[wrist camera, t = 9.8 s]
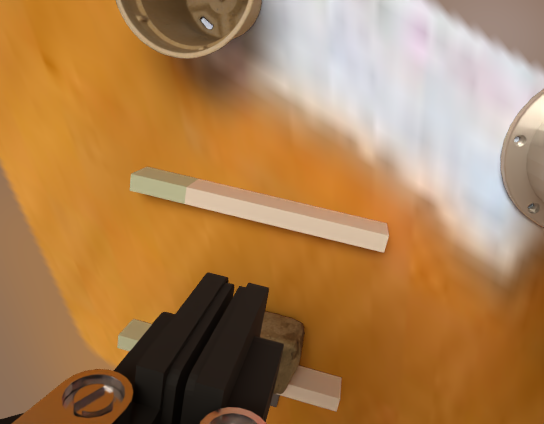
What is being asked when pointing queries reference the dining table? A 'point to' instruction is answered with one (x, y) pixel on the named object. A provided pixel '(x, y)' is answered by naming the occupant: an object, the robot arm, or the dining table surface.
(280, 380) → the stone block
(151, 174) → the set of beige bars
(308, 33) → the dining table surface
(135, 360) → the robot arm
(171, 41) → the flower pot
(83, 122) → the dining table surface
